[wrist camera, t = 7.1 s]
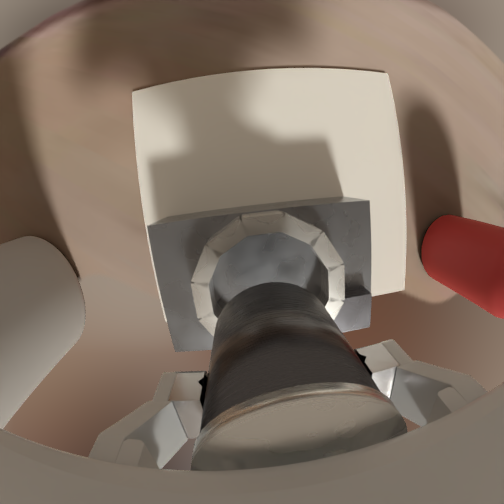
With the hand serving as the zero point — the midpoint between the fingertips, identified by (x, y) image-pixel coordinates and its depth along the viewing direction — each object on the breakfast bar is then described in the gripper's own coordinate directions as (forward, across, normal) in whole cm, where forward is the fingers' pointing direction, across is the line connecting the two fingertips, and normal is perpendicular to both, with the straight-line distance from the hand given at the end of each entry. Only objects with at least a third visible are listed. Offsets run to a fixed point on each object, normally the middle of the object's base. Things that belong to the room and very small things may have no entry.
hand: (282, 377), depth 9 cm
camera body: (+14, 0, 0) cm, 14 cm away
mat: (+14, -2, -6) cm, 16 cm away
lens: (+3, 0, 0) cm, 3 cm away
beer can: (+14, -18, +1) cm, 23 cm away
